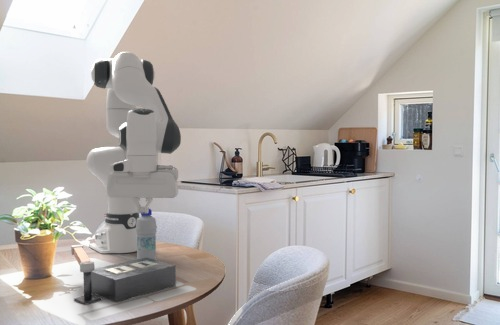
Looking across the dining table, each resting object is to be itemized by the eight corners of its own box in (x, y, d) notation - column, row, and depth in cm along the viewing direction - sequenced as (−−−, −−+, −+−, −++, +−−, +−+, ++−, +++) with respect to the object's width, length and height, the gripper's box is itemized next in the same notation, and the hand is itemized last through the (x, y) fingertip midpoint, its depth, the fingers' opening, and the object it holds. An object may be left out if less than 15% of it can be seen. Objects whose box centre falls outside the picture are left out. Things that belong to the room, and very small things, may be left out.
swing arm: (95, 272, 135) (95, 263, 135) (81, 273, 134) (80, 264, 134) (83, 252, 158) (82, 244, 158) (70, 253, 156) (70, 245, 156)
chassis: (87, 291, 144) (87, 268, 144) (146, 276, 159) (146, 256, 159) (115, 302, 135) (115, 278, 134) (175, 285, 149) (175, 264, 149)
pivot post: (74, 300, 137) (73, 271, 136) (91, 296, 140) (90, 268, 140) (84, 304, 133) (83, 275, 133) (101, 300, 137) (100, 271, 136)
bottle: (149, 265, 172) (149, 206, 171) (161, 269, 167) (160, 208, 166) (132, 269, 167) (131, 208, 166) (143, 273, 163) (142, 210, 161)
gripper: (180, 164, 150) (180, 211, 151) (112, 164, 152) (112, 211, 153) (175, 166, 144) (176, 215, 145) (104, 165, 145) (105, 214, 146)
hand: (142, 213), depth 149 cm, fingers closed
